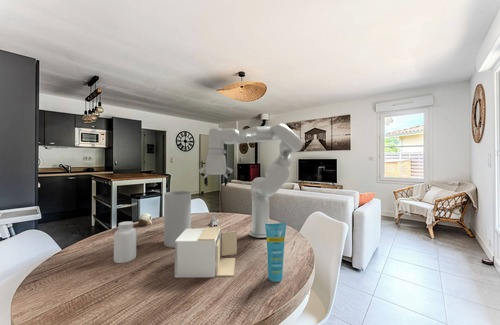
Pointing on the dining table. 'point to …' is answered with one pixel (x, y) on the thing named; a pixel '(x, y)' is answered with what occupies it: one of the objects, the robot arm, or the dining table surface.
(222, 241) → the door
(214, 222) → the house of cards
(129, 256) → the pill bottle
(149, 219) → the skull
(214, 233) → the carton
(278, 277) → the tube
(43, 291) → the dining table surface
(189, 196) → the cylinder vase
